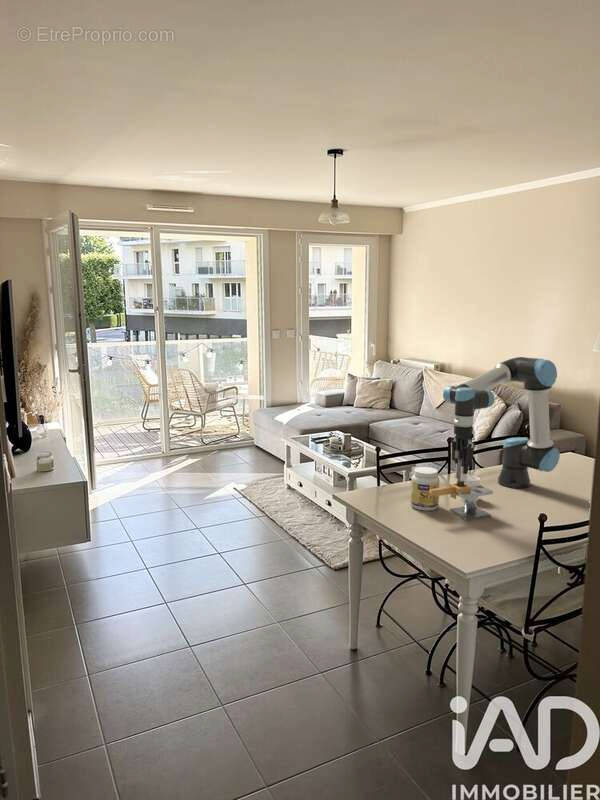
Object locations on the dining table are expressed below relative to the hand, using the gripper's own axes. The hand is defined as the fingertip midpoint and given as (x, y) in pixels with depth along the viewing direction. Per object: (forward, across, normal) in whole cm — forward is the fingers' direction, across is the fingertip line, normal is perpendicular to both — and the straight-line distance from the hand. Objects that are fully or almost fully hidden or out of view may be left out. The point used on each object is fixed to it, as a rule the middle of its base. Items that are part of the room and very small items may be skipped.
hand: (460, 479), depth 249 cm
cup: (+16, -17, +17) cm, 29 cm away
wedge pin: (+3, 0, 0) cm, 3 cm away
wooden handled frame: (+8, 0, -6) cm, 10 cm away
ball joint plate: (+16, 0, +4) cm, 17 cm away
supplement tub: (+16, -15, -7) cm, 23 cm away
